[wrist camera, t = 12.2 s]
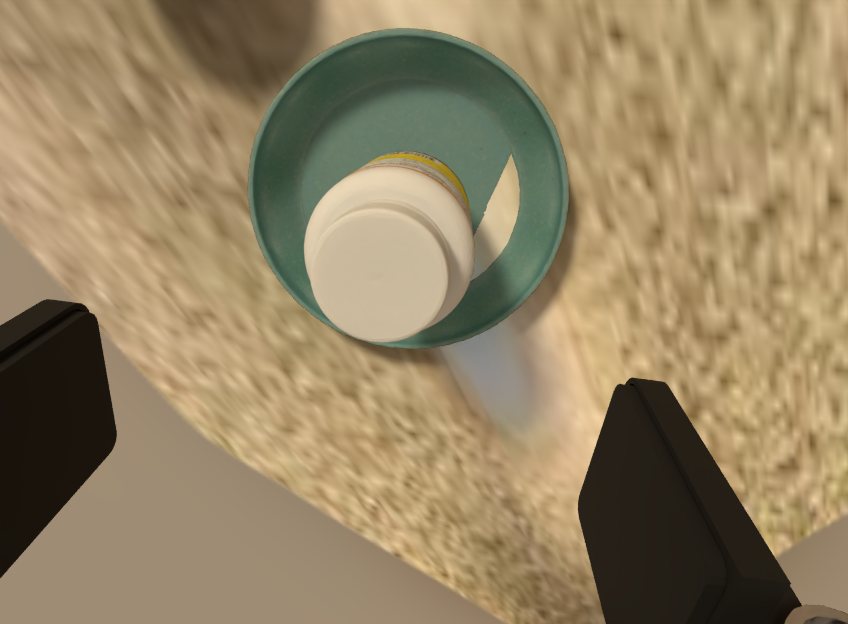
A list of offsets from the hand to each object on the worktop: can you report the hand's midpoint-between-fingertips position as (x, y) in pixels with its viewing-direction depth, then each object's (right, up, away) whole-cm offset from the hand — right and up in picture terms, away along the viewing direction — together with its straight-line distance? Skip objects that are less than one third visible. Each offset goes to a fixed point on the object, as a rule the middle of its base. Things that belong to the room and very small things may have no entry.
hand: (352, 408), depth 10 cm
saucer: (+1, +8, +17) cm, 19 cm away
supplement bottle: (+1, +6, +15) cm, 16 cm away
